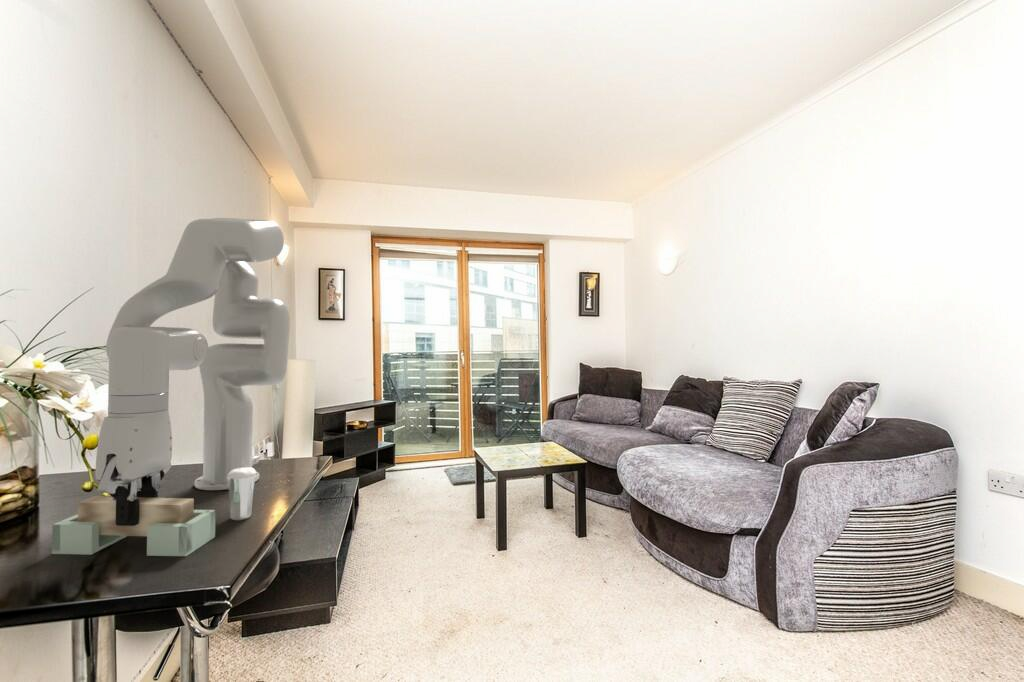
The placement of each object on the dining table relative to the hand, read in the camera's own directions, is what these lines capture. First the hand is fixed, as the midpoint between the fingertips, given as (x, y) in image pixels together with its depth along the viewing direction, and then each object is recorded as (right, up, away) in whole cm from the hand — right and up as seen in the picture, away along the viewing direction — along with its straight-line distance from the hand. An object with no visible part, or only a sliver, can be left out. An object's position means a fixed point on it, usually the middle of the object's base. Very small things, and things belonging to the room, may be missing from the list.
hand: (137, 519), depth 74 cm
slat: (0, -2, 0) cm, 2 cm away
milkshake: (+9, -5, +13) cm, 16 cm away
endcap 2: (+7, -4, 0) cm, 8 cm away
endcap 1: (-7, -4, 0) cm, 8 cm away
